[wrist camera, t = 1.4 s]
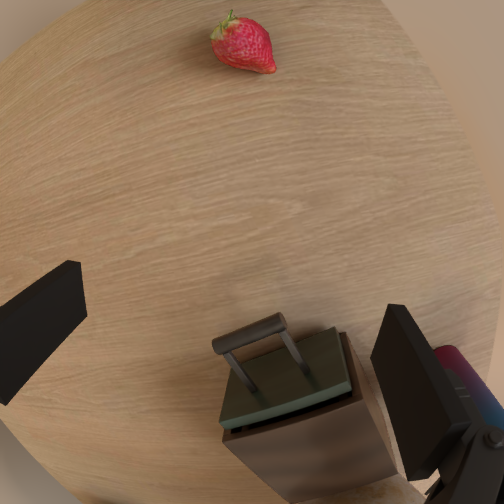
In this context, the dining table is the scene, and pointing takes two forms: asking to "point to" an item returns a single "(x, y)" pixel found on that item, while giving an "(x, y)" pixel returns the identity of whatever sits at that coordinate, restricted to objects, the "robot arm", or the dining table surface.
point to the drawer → (281, 375)
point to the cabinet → (321, 444)
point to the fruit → (243, 45)
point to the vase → (376, 494)
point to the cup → (472, 385)
